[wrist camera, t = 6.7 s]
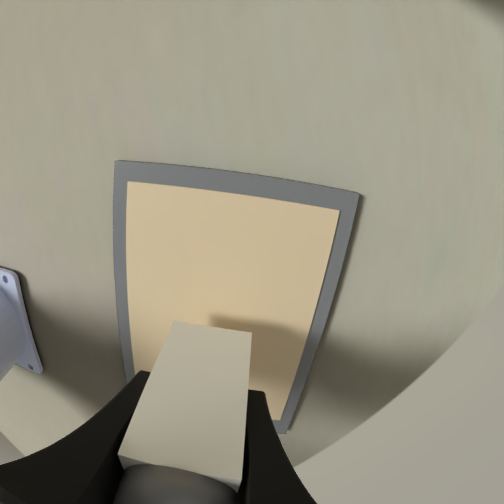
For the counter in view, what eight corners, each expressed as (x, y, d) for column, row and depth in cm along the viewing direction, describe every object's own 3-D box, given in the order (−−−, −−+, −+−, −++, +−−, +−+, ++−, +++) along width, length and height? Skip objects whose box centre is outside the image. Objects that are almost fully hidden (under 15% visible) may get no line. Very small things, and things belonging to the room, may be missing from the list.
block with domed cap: (172, 375, 13) (123, 527, 6) (171, 317, 12) (96, 493, 5) (244, 387, 13) (229, 549, 6) (254, 330, 12) (243, 525, 5)
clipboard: (133, 404, 17) (127, 417, 16) (118, 160, 12) (106, 163, 11) (285, 429, 17) (286, 443, 16) (356, 192, 12) (365, 197, 11)
